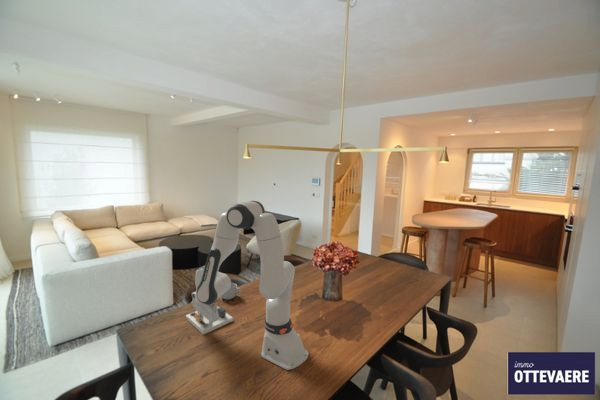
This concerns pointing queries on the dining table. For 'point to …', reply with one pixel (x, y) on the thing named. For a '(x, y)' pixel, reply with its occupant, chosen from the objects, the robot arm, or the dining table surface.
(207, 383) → the dining table surface
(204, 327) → the panel
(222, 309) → the black slider
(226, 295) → the teacup
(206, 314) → the robot arm
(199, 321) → the orange slider
